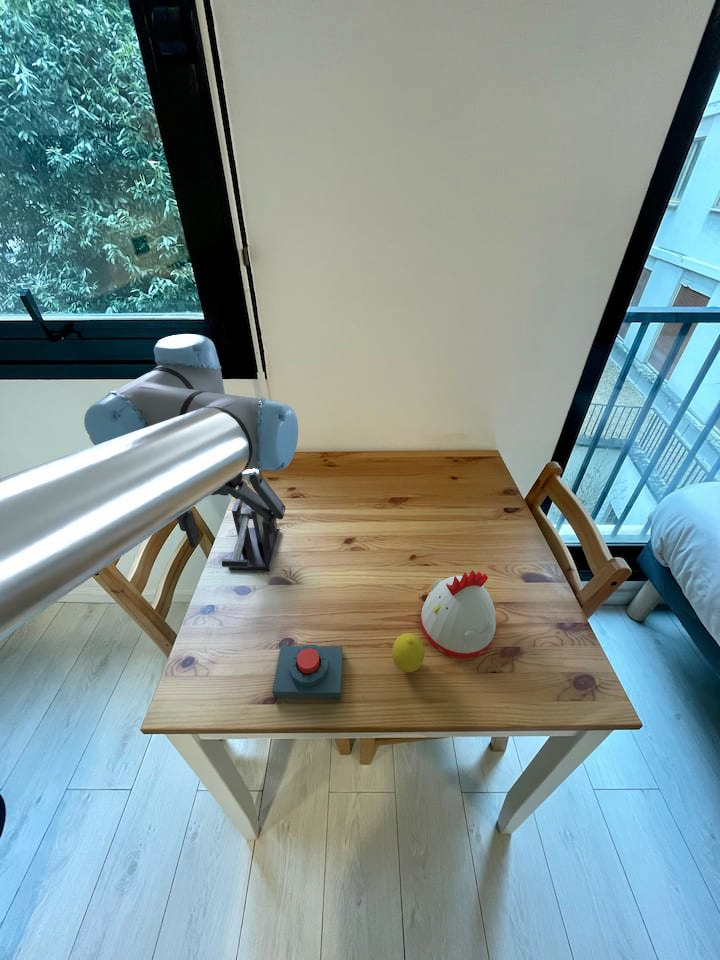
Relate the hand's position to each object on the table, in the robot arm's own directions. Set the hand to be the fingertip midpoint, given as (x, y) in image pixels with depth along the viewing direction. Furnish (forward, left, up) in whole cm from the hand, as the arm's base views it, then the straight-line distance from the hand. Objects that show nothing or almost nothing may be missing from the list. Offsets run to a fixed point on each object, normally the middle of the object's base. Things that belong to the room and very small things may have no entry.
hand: (233, 543), depth 74 cm
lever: (+6, +5, -6) cm, 10 cm away
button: (-3, -21, -12) cm, 25 cm away
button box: (-3, -21, -16) cm, 27 cm away
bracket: (+10, +9, -16) cm, 20 cm away
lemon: (+9, -33, -16) cm, 38 cm away
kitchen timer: (+22, -36, -16) cm, 45 cm away
